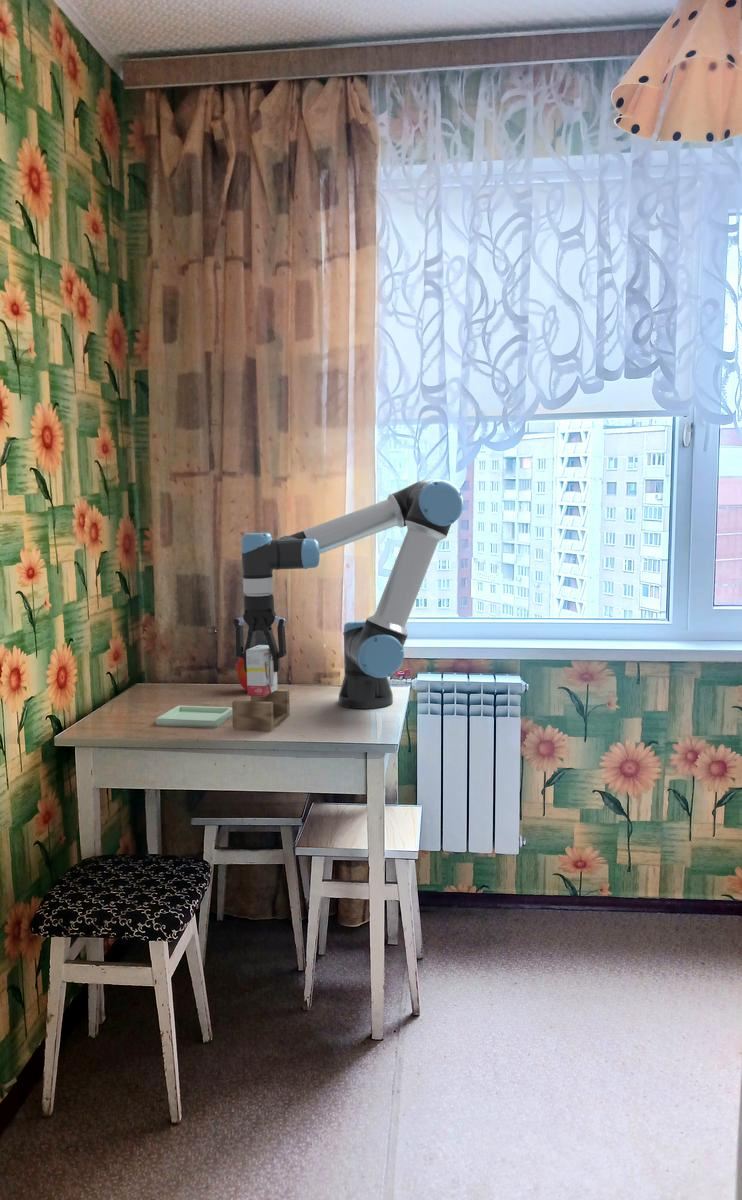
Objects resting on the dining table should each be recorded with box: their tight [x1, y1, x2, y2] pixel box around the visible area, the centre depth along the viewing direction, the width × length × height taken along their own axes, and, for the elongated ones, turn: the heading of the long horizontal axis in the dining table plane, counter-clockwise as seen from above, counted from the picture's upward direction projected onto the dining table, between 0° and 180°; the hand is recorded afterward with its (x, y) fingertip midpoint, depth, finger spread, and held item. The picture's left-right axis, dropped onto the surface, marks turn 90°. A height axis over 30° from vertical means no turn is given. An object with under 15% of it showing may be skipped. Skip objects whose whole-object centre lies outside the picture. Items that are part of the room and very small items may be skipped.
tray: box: [155, 705, 233, 729], centre depth 239 cm, size 16×14×2 cm
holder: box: [231, 688, 291, 732], centre depth 235 cm, size 10×16×7 cm, turn 168°
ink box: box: [246, 644, 279, 697], centre depth 234 cm, size 9×5×12 cm, turn 161°
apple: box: [236, 657, 248, 692], centre depth 270 cm, size 9×9×12 cm
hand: (262, 683), depth 234 cm, fingers closed on ink box, 5 cm apart
